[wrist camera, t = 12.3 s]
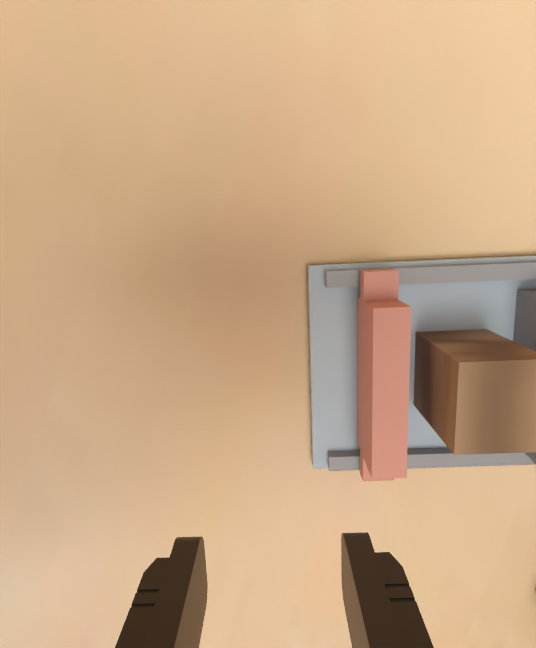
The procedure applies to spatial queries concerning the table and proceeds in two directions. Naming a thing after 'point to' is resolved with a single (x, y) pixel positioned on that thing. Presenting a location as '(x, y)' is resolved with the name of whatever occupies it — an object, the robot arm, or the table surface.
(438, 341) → the walnut block
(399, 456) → the bar
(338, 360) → the vise base
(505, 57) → the table surface
